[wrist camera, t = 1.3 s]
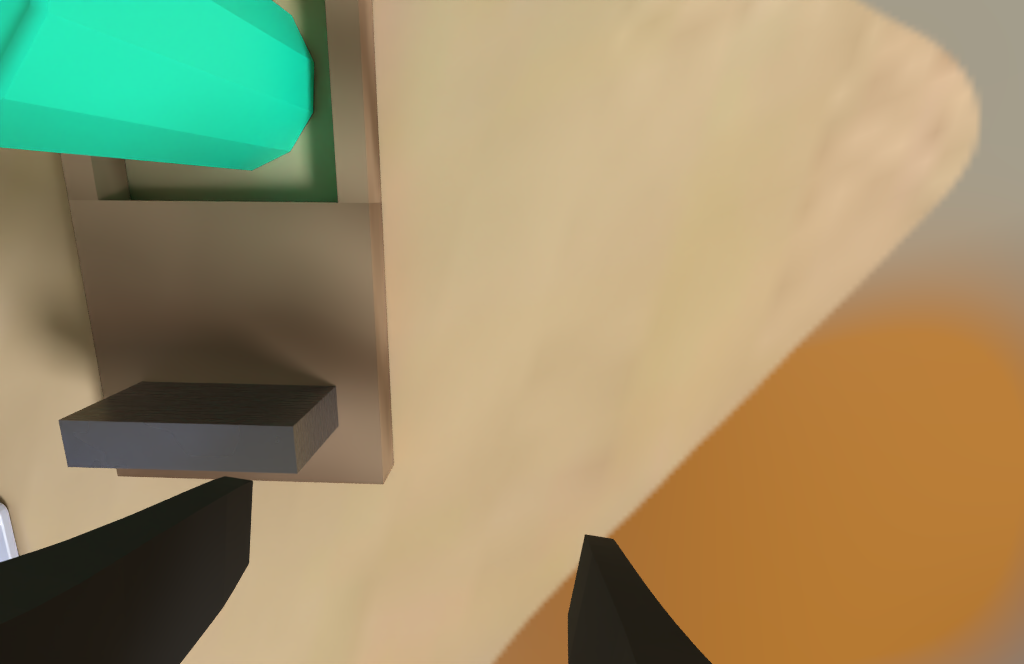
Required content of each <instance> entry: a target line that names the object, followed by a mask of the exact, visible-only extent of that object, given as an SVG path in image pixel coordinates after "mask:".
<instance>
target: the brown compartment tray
mask: <svg viewBox="0 0 1024 664" xmlns="http://www.w3.org/2000/svg"><path fill="white" fill-rule="evenodd" d="M325 8H326V24H327V39H328V54H329V70H330V85H331V101H332V116H333V131H334V147H335V162H336V178H337V193H338V202H275V201H170V200H131V199H130V193H129V186H128V179H127V173H126V166H125V160H124V159H121V158H110V157H99V156H89V155H78V154H67V153H60V155H61V161H62V166H63V172H64V177H65V183H66V189H67V194H68V200H69V205H70V211H71V217H72V222H73V228H74V233H75V239H76V245H77V250H78V256H79V261H80V267H81V273H82V278H83V284H84V289H85V295H86V301H87V306H88V312H89V317H90V323H91V329H92V334H93V340H94V345H95V351H96V357H97V362H98V368H99V373H100V379H101V385H102V390H103V396H104V399H103V400H101V401H99V402H97V403H94V404H92V405H90V406H88V407H86V408H84V409H82V410H79V411H77V412H75V413H73V414H71V415H69V416H67V417H64V418H62V419H60V420H59V425H60V430H61V435H62V440H63V444H64V449H65V454H66V459H67V464H68V467H89V468H116V469H117V474H118V476H131V477H164V478H196V479H218V478H221V477H224V476H227V477H234V478H240V479H246V480H262V481H294V482H327V483H359V484H384V482H385V480H386V478H387V477H388V475H389V473H390V471H391V469H392V467H393V465H394V459H393V437H392V416H391V394H390V373H389V351H388V330H387V309H386V287H385V266H384V244H383V223H382V201H381V180H380V158H379V137H378V116H377V94H376V73H375V51H374V30H373V8H372V0H325Z"/></svg>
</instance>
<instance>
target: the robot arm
mask: <svg viewBox="0 0 1024 664" xmlns="http://www.w3.org/2000/svg"><path fill="white" fill-rule="evenodd" d="M252 487H253V481H252V480H246V479H240V478H234V477H227V476H224V477H221V478H218V479H215V480H212V481H210V482H207V483H205V484H202V485H200V486H198V487H195V488H193V489H190V490H188V491H186V492H183V493H181V494H179V495H177V496H174V497H172V498H170V499H167V500H165V501H163V502H160V503H158V504H156V505H153V506H151V507H149V508H146V509H144V510H142V511H139V512H137V513H135V514H132V515H130V516H127V517H125V518H123V519H120V520H117V521H115V522H112V523H110V524H107V525H105V526H102V527H99V528H97V529H94V530H92V531H89V532H87V533H84V534H82V535H79V536H76V537H74V538H71V539H69V540H66V541H63V542H60V543H58V544H55V545H52V546H49V547H46V548H43V549H40V550H37V551H34V552H31V553H28V554H25V555H21V556H19V555H18V551H17V546H16V542H15V538H14V534H13V529H12V525H11V521H10V517H9V512H8V510H7V508H6V506H5V505H4V504H2V503H0V664H180V663H181V662H182V660H183V659H184V658H185V657H186V655H187V654H188V653H189V651H190V650H191V649H192V648H193V646H194V645H195V644H196V642H197V641H198V640H199V638H200V637H201V636H202V635H203V633H204V632H205V631H206V629H207V628H208V627H209V625H210V624H211V623H212V621H213V620H214V619H215V617H216V616H217V615H218V613H219V612H220V611H221V609H222V608H223V607H224V605H225V603H226V602H227V600H228V598H229V597H230V595H231V593H232V592H233V590H234V589H235V587H236V585H237V583H238V582H239V580H240V578H241V576H242V575H243V573H244V571H245V569H246V568H247V566H248V564H249V553H250V531H251V509H252ZM568 663H569V664H712V663H711V662H710V661H709V660H708V659H707V658H706V657H705V656H704V655H703V654H702V653H701V652H700V650H699V649H698V648H697V647H696V646H695V645H694V644H693V643H692V642H691V640H690V639H689V638H688V637H687V636H686V635H685V633H684V632H683V631H682V630H681V629H680V628H679V626H678V625H677V624H676V623H675V622H674V621H673V619H672V618H671V617H670V616H669V615H668V613H667V612H666V611H665V609H664V608H663V607H662V606H661V604H660V603H659V602H658V601H657V599H656V598H655V596H654V595H653V594H652V592H650V590H649V589H648V587H647V586H646V584H645V583H644V582H643V581H642V579H641V577H640V576H639V575H638V573H637V572H636V570H635V569H634V568H633V566H632V565H631V564H630V562H629V560H628V559H627V558H626V556H625V555H624V553H623V552H622V551H621V549H620V548H619V546H618V545H617V543H616V542H615V541H614V540H613V539H610V538H604V537H598V536H591V535H585V537H584V542H583V547H582V551H581V556H580V561H579V566H578V570H577V575H576V580H575V585H574V589H573V594H572V598H571V604H570V608H569V613H568Z"/></svg>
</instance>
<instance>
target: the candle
mask: <svg viewBox="0 0 1024 664" xmlns="http://www.w3.org/2000/svg"><path fill="white" fill-rule="evenodd" d="M313 103H314V61H313V59H312V57H311V55H310V53H309V51H308V48H307V46H306V44H305V42H304V40H303V38H302V36H301V34H300V32H299V30H298V28H297V26H296V24H295V21H294V19H293V17H292V15H291V14H289V13H288V12H287V11H285V10H284V9H283V8H281V7H280V6H279V5H277V4H276V3H275V2H273V1H272V0H0V147H2V148H13V149H23V150H34V151H45V152H56V153H67V154H78V155H89V156H99V157H110V158H121V159H132V160H143V161H154V162H165V163H175V164H186V165H197V166H208V167H219V168H230V169H241V170H251V171H252V170H254V169H256V168H258V167H260V166H262V165H264V164H266V163H268V162H270V161H272V160H274V159H276V158H278V157H280V156H282V155H284V154H286V153H288V152H290V151H291V149H292V148H293V146H294V144H295V143H296V141H297V139H298V137H299V136H300V134H301V132H302V131H303V129H304V127H305V126H306V124H307V122H308V121H309V119H310V117H311V115H312V114H313Z"/></svg>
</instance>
